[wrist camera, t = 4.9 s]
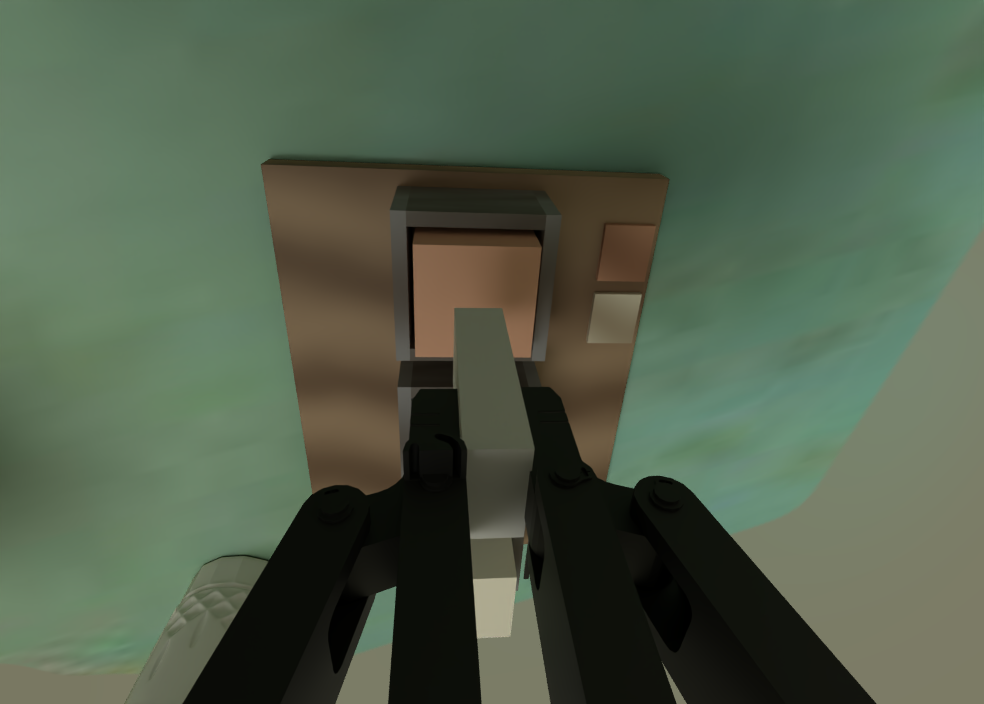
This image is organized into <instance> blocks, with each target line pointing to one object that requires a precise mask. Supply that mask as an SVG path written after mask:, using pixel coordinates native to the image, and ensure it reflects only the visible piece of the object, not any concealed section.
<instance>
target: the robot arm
mask: <svg viewBox="0 0 984 704" xmlns="http://www.w3.org/2000/svg"><path fill="white" fill-rule="evenodd" d="M403 471H404V475H403V477H402V478H401V479H400V480H399V481H398V482H397V483H396V484H394V485H393V486H391V487H389V488H388V489H385V490H382V491H380V492H376V493H373V494H369V495H365V494H364V493H363V492H362V491H361V490H360V489H358V488H355V487H352V486H349V485H333V486H330V487H326V488H322V489H321V490H319V491H317V492H315V493H314V494H312V495H311V496H310V497H309V498H308V499H307V500H306V501H305V503H304V504H303V505H302V507H301V509H300V510H299V512H298V513H297V515H296V517H295V518H294V520H293V522H292V523H291V525H290V527H289V528H288V530H287V532H286V533H285V535H284V537H283V538H282V540H281V542H280V543H279V545H278V546H277V548H276V550H275V551H274V553H273V555H272V556H271V558H270V560H269V561H268V563H267V565H266V566H265V568H264V570H263V571H262V573H261V575H260V576H259V578H258V580H257V581H256V583H255V584H254V586H253V588H252V589H251V591H250V593H249V594H248V596H247V598H246V599H245V601H244V603H243V604H242V606H241V608H240V609H239V611H238V613H237V614H236V616H235V618H234V619H233V621H232V622H231V624H230V626H229V627H228V629H227V631H226V632H225V634H224V636H223V637H222V639H221V641H220V642H219V644H218V646H217V647H216V649H215V651H214V652H213V654H212V656H211V657H210V659H209V660H208V662H207V664H206V665H205V667H204V669H203V670H202V672H201V674H200V675H199V677H198V679H197V680H196V682H195V684H194V685H193V687H192V689H191V690H190V692H189V694H188V695H187V697H186V698H185V700H184V702H183V703H182V704H335V703H336V700H337V697H338V695H339V692H340V689H341V687H342V684H343V682H344V679H345V676H346V674H347V671H348V668H349V666H350V663H351V660H352V658H353V655H354V652H355V650H356V647H357V644H358V642H359V639H360V636H361V634H362V631H363V628H364V626H365V623H366V620H367V618H368V615H369V612H370V610H371V607H372V604H373V602H374V599H375V595H376V593H378V592H381V591H384V590H387V589H390V588H392V587H395V586H396V600H395V614H394V629H393V643H392V657H391V672H390V686H389V700H388V704H481V690H480V675H479V659H478V646H477V630H476V615H475V600H474V585H473V571H472V556H471V541H470V539H486V538H514V537H524V531H525V524H526V529H527V535H528V546H527V554H526V561H525V569H524V579H529V575H530V581H531V587H532V593H533V599H534V605H535V611H536V617H537V623H538V629H539V635H540V641H541V647H542V654H543V660H544V665H545V671H546V678H547V684H548V690H549V695H550V702H551V704H676V701H675V698H674V695H673V692H672V689H671V686H670V684H669V681H668V678H667V675H666V672H665V670H664V667H663V664H664V666H665V667H666V669H667V671H668V673H669V674H670V676H671V678H672V679H673V681H674V682H675V684H676V686H677V688H678V689H679V691H680V693H681V694H682V696H683V698H684V700H685V701H686V703H687V704H876V703H875V702H874V700H873V699H872V698H871V697H870V696H869V695H868V694H867V692H866V691H865V690H864V689H863V688H862V687H861V685H860V684H859V683H858V682H857V681H856V680H855V679H854V677H853V676H852V675H851V674H850V673H849V672H848V670H847V669H846V668H845V667H844V666H843V665H842V664H841V662H840V661H839V660H838V659H837V658H836V657H835V656H834V655H833V653H832V652H831V651H830V650H829V649H828V647H827V646H826V645H825V644H824V643H823V642H822V641H821V639H820V638H819V637H818V636H817V635H816V634H815V633H814V632H813V630H812V629H811V628H810V627H809V626H808V624H807V623H806V622H805V621H804V620H803V619H802V618H801V616H800V615H799V614H798V613H797V612H796V611H795V610H794V608H793V607H792V606H791V605H790V604H789V603H788V601H787V600H785V598H784V597H783V596H782V595H781V594H780V592H779V591H778V590H777V589H776V588H775V587H774V586H773V584H772V583H771V582H770V581H769V580H768V579H767V577H766V576H765V575H764V574H763V573H762V572H761V570H760V569H759V568H758V567H757V566H756V565H755V564H754V562H753V561H752V560H751V559H750V558H749V557H748V555H747V554H746V553H745V552H744V551H743V550H742V549H741V547H740V546H739V545H738V544H737V543H736V542H735V541H734V539H733V538H732V537H731V536H730V535H729V534H728V532H727V531H726V530H725V529H724V528H723V527H722V526H721V524H720V523H719V522H718V521H717V520H716V519H715V518H714V516H713V515H712V514H711V513H710V512H709V511H708V509H707V508H706V507H705V506H704V505H703V504H702V503H701V501H700V500H699V499H698V498H697V497H696V496H695V495H694V493H693V492H692V491H691V490H689V489H688V488H687V487H686V486H685V485H684V484H682V483H680V482H678V481H676V480H674V479H672V478H668V477H663V476H648V477H646V478H643V479H641V480H640V481H639V482H638V483H637V484H636V486H635V488H634V489H633V488H629V487H624V486H620V485H615V484H612V483H609V482H605V481H603V480H601V479H599V478H597V476H596V474H595V473H594V471H593V469H592V468H591V467H590V466H589V465H587V464H586V463H585V462H583V461H582V459H581V456H580V453H579V450H578V447H577V444H576V441H575V438H574V435H573V432H572V429H571V426H570V423H569V420H568V417H567V414H566V413H565V408H564V406H563V403H562V400H561V397H560V396H559V395H558V394H557V393H556V392H555V391H554V390H553V389H551V388H550V387H520V383H519V379H518V374H517V370H516V366H515V361H514V357H513V353H512V348H511V344H510V340H509V335H508V331H507V327H506V322H505V318H504V314H503V309H502V308H454V353H453V389H420V390H419V391H418V393H417V394H416V395H415V397H414V398H413V399H412V403H411V417H410V431H409V440H408V441H407V442H406V443H405V446H404V449H403ZM662 663H663V664H662Z"/></svg>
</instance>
